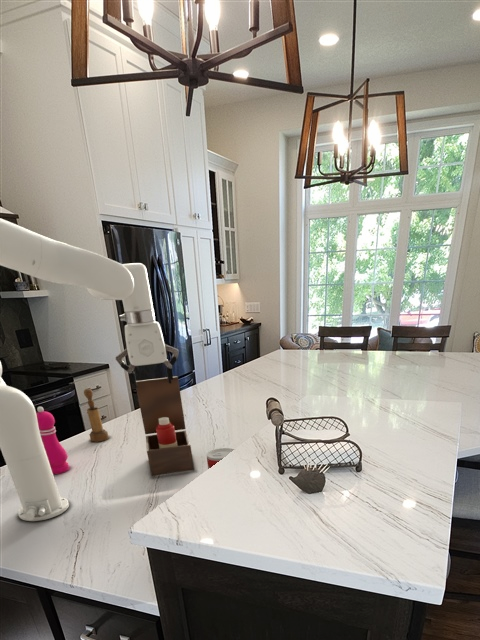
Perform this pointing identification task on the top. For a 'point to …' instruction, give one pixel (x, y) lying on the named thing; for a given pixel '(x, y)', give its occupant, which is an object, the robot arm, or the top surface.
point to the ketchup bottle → (166, 433)
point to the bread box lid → (160, 403)
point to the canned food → (217, 455)
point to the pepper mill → (51, 442)
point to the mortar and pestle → (95, 420)
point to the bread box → (169, 455)
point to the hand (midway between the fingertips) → (153, 384)
